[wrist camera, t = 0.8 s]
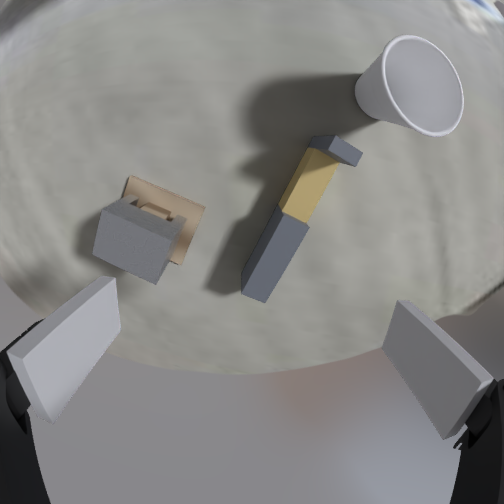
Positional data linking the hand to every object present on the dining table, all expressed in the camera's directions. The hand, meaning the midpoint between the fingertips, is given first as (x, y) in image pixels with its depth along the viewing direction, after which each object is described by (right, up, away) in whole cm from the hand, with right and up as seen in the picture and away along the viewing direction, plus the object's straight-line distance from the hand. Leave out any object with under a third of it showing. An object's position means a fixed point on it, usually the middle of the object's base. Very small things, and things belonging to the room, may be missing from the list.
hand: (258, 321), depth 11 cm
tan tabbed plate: (-12, +7, +20) cm, 25 cm away
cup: (+15, +22, +15) cm, 30 cm away
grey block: (-12, +6, +19) cm, 23 cm away
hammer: (+4, +7, +21) cm, 22 cm away
